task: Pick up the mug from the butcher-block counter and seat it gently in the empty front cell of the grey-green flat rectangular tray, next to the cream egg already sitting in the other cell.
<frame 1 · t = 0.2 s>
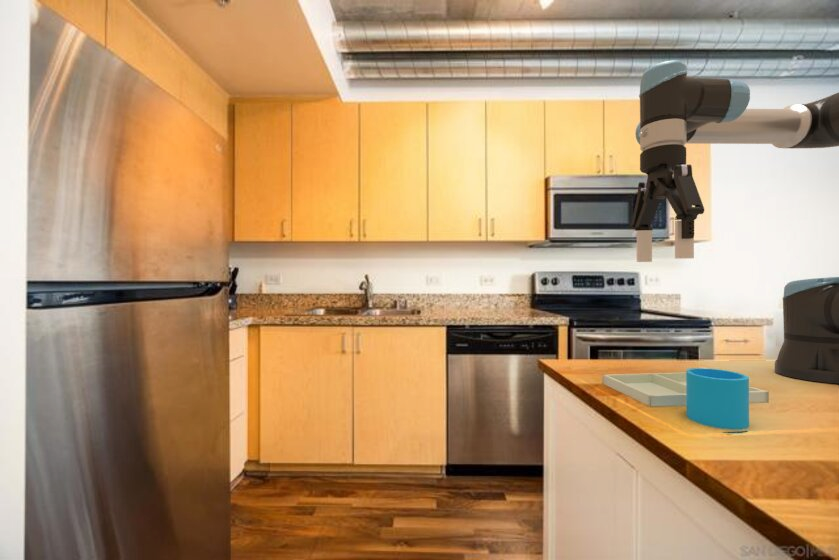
hand: (662, 260, 75), 27 cm above the counter, fingers open, 13 cm apart
grey-green flat rectangular tray: (678, 394, 80), on the counter
egg: (705, 390, 80), point 1 cm above the counter, touching grey-green flat rectangular tray
mug: (718, 422, 66), on the counter
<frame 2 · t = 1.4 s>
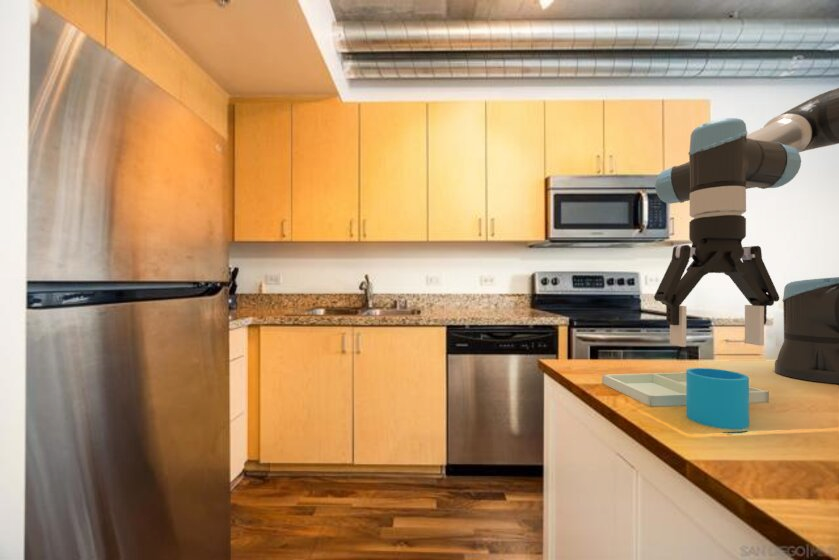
hand: (716, 345, 66), 13 cm above the counter, fingers open, 13 cm apart
nothing on the counter moved.
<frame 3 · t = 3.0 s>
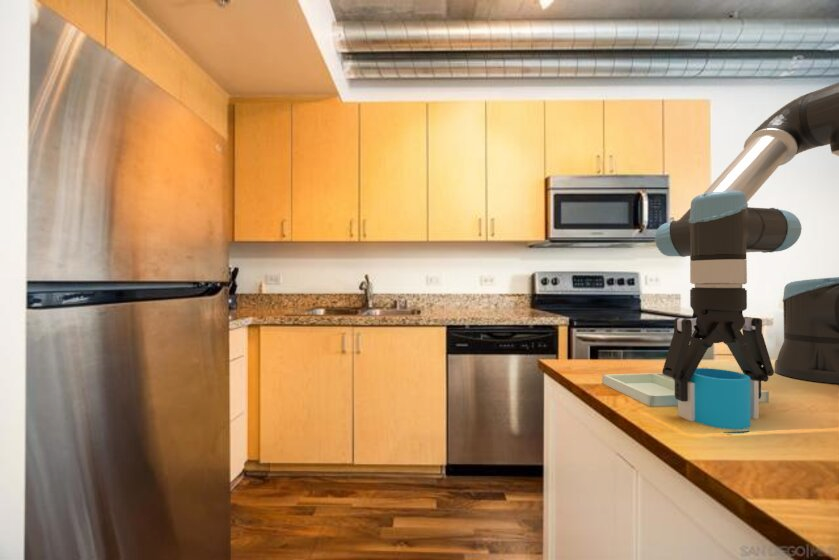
hand: (718, 419, 66), 0 cm above the counter, fingers open, 10 cm apart
nothing on the counter moved.
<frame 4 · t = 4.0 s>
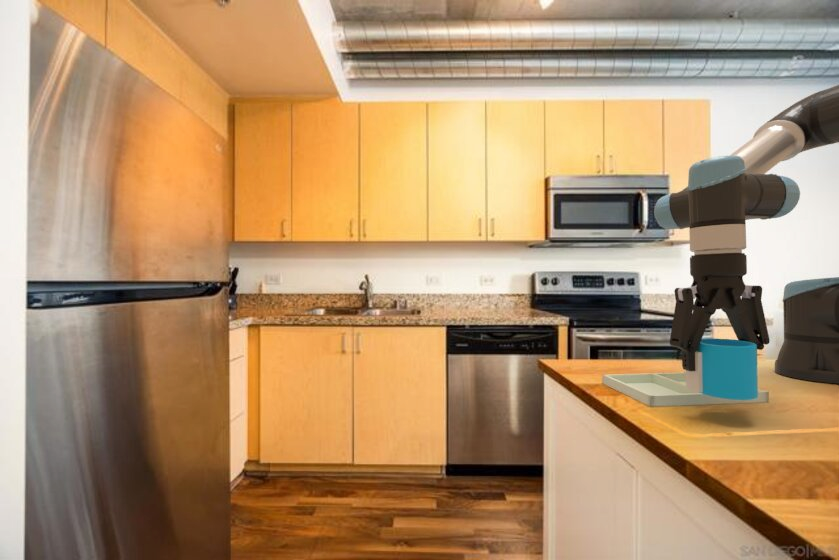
hand: (720, 388, 66), 5 cm above the counter, fingers closed on mug, 8 cm apart
mug: (726, 390, 66), point 5 cm above the counter, touching gripper
everything else where it was.
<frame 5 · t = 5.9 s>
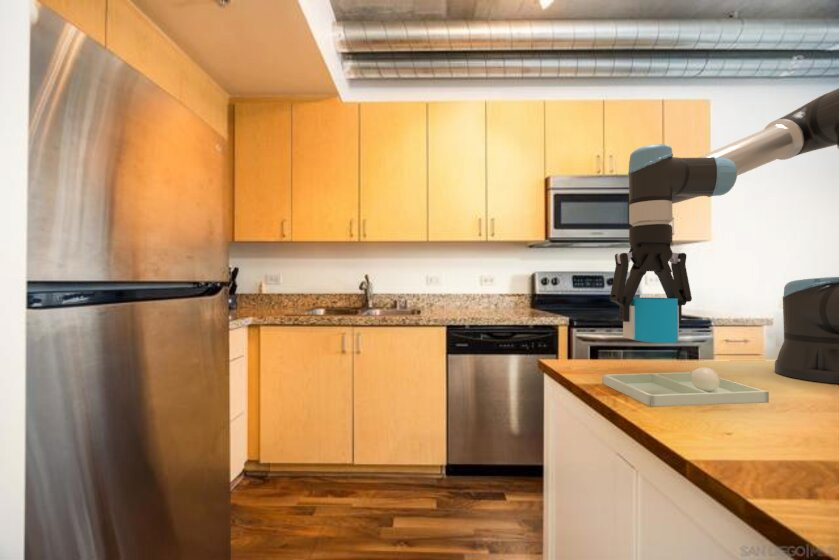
hand: (650, 337, 79), 12 cm above the counter, fingers closed on mug, 8 cm apart
mug: (655, 339, 80), point 11 cm above the counter, touching gripper
everything else where it was.
when the fingers open (3 cm above the counter, at t = 7.8 s): mug drops 2 cm, resting on grey-green flat rectangular tray.
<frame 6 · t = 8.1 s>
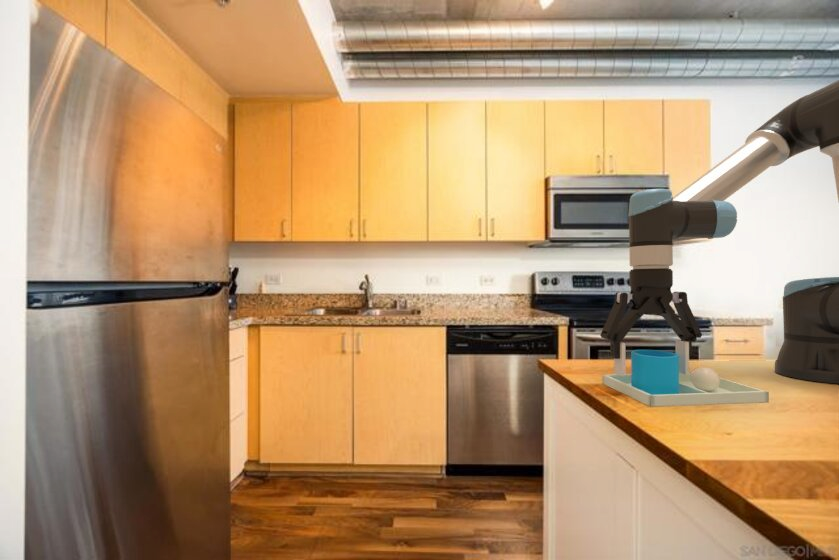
hand: (651, 374, 79), 4 cm above the counter, fingers open, 13 cm apart
mug: (656, 393, 80), resting on grey-green flat rectangular tray
everything else where it was.
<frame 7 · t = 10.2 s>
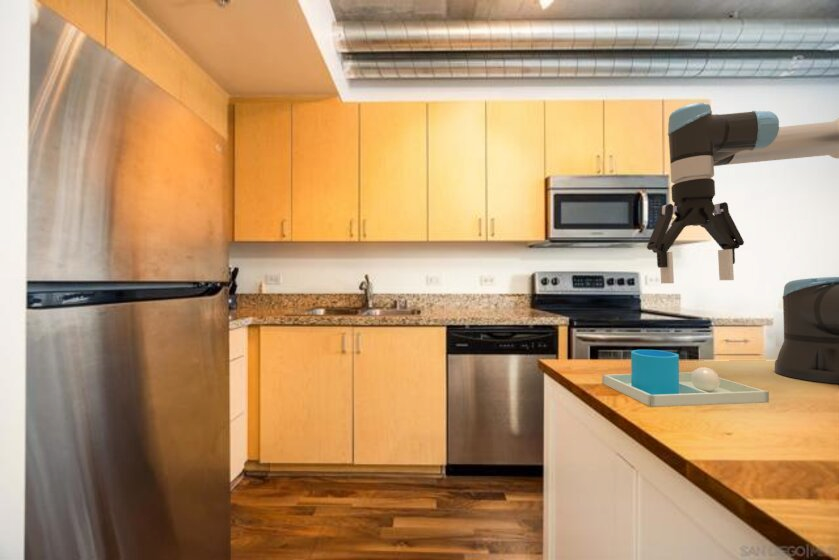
hand: (697, 281, 83), 23 cm above the counter, fingers open, 13 cm apart
nothing on the counter moved.
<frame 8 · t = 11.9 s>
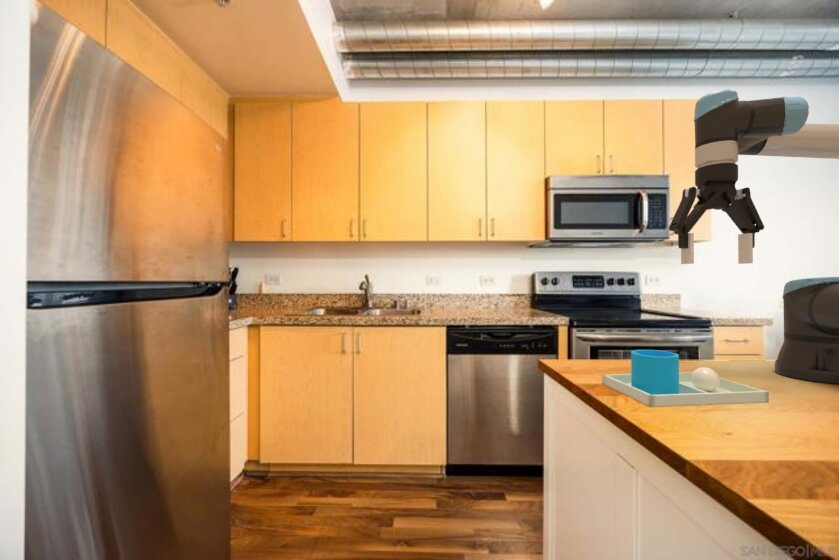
hand: (716, 263, 86), 27 cm above the counter, fingers open, 13 cm apart
nothing on the counter moved.
at the end: mug inside the target area on the grey-green flat rectangular tray (1.3 cm from its centre), point 0.4 cm above the grey-green flat rectangular tray's base; mug tilted 0°; the gripper is holding nothing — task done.
